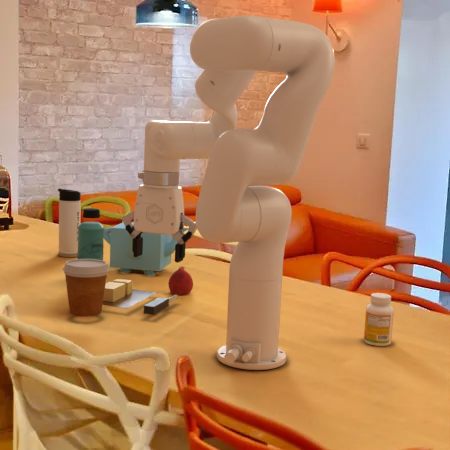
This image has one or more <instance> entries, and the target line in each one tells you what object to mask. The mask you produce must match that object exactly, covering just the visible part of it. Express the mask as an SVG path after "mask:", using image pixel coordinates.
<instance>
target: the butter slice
mask: <svg viewBox="0 0 450 450" xmlns="http://www.w3.org/2000/svg"><path fill="white" fill-rule="evenodd" d="M111 282H116V283H124V284H125V295H129V294H131V293H132V289H133V280H132V279H124V278H116V279H112V281H111Z"/></svg>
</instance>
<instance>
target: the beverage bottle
mask: <svg viewBox="0 0 450 450" xmlns="http://www.w3.org/2000/svg"><path fill="white" fill-rule="evenodd" d="M82 218H83V219H100V218H101V211H100V208H94V207H93V208H92V207H89V208H83V209H82ZM104 229H105V227H104V226H103V224H102V223H101V222H99V221H83V222H80V225H79V226H78V254H77V257H76V259H97V260H103V261H104V248H105V245H104V243H105V242H104Z"/></svg>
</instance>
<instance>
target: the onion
mask: <svg viewBox="0 0 450 450" xmlns="http://www.w3.org/2000/svg"><path fill="white" fill-rule="evenodd" d="M185 268H186V267H185V266H184V265H180V266H179V267H178V269H177V270H175V271H174V272H173V273H172V274H171V275H170V276H169V280H168V283H167V284H168V289H169V292H170V293H171V294H172V295H173V296H174V295H176V294H177V296H187V295H189V294H190V293H191V292H192V290H193V287H194V280H193V278H192V276H191V274H190V273H189V272H188V271H186V269H185Z"/></svg>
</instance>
